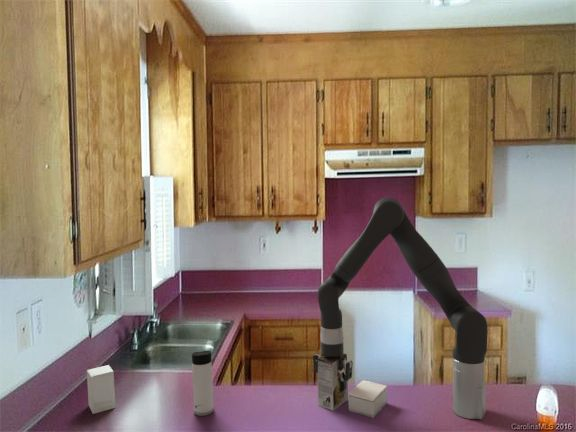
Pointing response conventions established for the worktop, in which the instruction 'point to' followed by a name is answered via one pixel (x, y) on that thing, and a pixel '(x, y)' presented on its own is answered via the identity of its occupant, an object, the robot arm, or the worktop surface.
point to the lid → (367, 390)
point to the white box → (367, 405)
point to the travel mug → (202, 383)
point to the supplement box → (101, 389)
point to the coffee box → (330, 383)
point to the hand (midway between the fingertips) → (332, 388)
